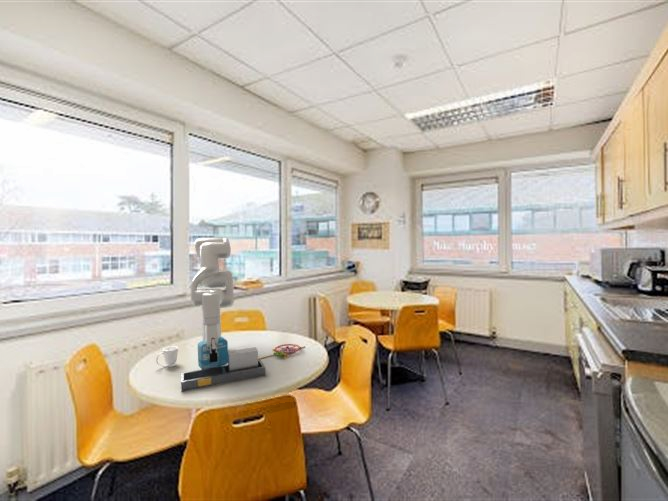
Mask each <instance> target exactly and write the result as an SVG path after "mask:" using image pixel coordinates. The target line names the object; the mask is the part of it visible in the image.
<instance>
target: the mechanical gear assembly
mask: <svg viewBox="0 0 668 501" xmlns="http://www.w3.org/2000/svg"><path fill="white" fill-rule="evenodd" d="M304 348H306V346H305V345H304V346H300V345H299V344H296V343H285V344H280V345H277V346H275V347H274V348H273V349H272V352H273V354H270V355H266V356H263V357H258V360H263V359H267V358H271V357H274V356H275V357H284V358H285V359H288V358H289V356H290V355H288V354H292V353H296V352H298V351H300V350H302V349H304Z"/></svg>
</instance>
